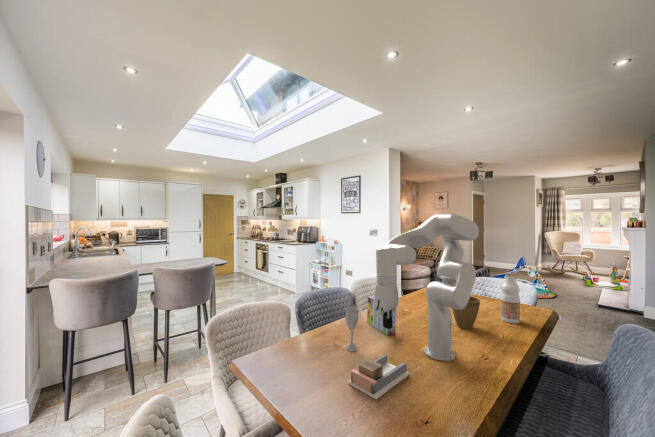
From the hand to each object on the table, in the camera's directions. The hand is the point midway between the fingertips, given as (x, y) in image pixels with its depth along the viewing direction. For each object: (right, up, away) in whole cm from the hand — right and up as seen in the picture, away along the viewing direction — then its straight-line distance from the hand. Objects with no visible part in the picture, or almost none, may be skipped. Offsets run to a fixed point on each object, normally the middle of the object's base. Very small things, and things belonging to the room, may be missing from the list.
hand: (387, 327), depth 105 cm
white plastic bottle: (+85, -20, +58) cm, 105 cm away
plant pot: (+53, -19, +48) cm, 74 cm away
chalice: (-12, -18, +21) cm, 30 cm away
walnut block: (-8, -16, -7) cm, 20 cm away
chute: (-4, -18, -3) cm, 18 cm away
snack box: (+6, -19, +45) cm, 49 cm away
